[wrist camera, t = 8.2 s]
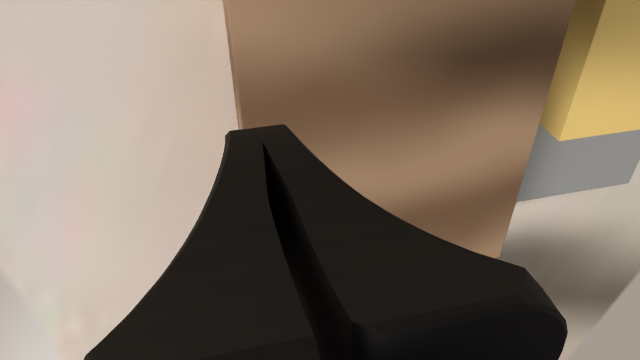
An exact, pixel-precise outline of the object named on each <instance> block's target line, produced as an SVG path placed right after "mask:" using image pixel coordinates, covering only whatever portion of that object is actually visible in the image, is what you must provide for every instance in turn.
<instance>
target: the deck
mask: <svg viewBox="0 0 640 360" xmlns="http://www.w3.org/2000/svg"><path fill="white" fill-rule="evenodd" d="M575 2H576V0H223V5H224V13H225V21H226V29H227V37H228V45H229V53H230V62H231V70H232V78H233V86H234V94H235V102H236V110H237V118H238V126H239V130H241V129H249V128H257V127H265V126H272V125H280V124H285V125H286V126H287V127H288V128H289V129H290V130H291V131H292V132H293V133H294V134H295V135H296V136H297V138H298V139H299V140H300V141H301V142H302V143H303V144H304V145H305V146H306V147H307V148H308V149H309V150H310V151H311V152H312V153H313V154H314V155H315V156H316V157H317V158H318V159H319V160H320V161H321V162H323V163H324V164H325V165H326V166H327V167H328V168H329V169H330V170H331V171H332V172H334V173H335V174H336V175H337V176H338V177H340V178H341V179H342V180H343V181H344V182H346V183H347V184H348V185H349V186H351V187H352V188H353V189H355V190H356V191H357V192H359V193H360V194H361V195H363V196H364V197H366V198H367V199H369V200H370V201H372V202H373V203H375V204H377V205H378V206H380V207H381V208H383V209H384V210H386V211H388V212H389V213H391V214H393V215H395V216H396V217H398V218H400V219H402V220H404V221H406V222H408V223H410V224H412V225H414V226H416V227H418V228H419V229H421V230H423V231H425V232H428V233H430V234H432V235H434V236H437V237H439V238H441V239H443V240H446V241H448V242H451V243H453V244H456V245H458V246H461V247H463V248H466V249H468V250H471V251H473V252H476V253H479V254H482V255H486V256H489V257H492V258H497V257H500V254H501V250H502V247H503V244H504V240H505V237H506V233H507V230H508V227H509V223H510V220H511V217H512V213H513V210H514V207H515V203H516V200H517V197H518V193H519V190H520V186H521V183H522V180H523V176H524V173H525V170H526V166H527V163H528V160H529V156H530V153H531V149H532V146H533V143H534V139H535V136H536V133H537V129H538V126H539V123H540V119H541V116H542V113H543V109H544V106H545V102H546V99H547V96H548V92H549V89H550V86H551V82H552V79H553V76H554V72H555V69H556V66H557V62H558V59H559V55H560V52H561V49H562V45H563V42H564V39H565V35H566V32H567V29H568V25H569V22H570V19H571V15H572V12H573V8H574V5H575Z"/></svg>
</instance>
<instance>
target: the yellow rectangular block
mask: <svg viewBox="0 0 640 360" xmlns="http://www.w3.org/2000/svg"><path fill="white" fill-rule="evenodd" d="M539 124H540V125H541V126H543V127H544V128H545V129H546V130H547V131H548V132H549V133H550V134H551V135H553V136H554V137H555V138H556V139H557V140H558V141H564V140H571V139H578V138H585V137H591V136H598V135H605V134H612V133H619V132H625V131H632V130H639V129H640V0H576V2H575V5H574V8H573V12H572V15H571V19H570V22H569V25H568V29H567V32H566V35H565V39H564V42H563V45H562V49H561V52H560V55H559V59H558V62H557V66H556V69H555V72H554V76H553V79H552V82H551V86H550V89H549V92H548V96H547V99H546V102H545V106H544V109H543V113H542V116H541V119H540V123H539Z"/></svg>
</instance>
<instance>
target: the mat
mask: <svg viewBox="0 0 640 360" xmlns="http://www.w3.org/2000/svg"><path fill="white" fill-rule="evenodd" d="M639 159H640V129H639V130H632V131H625V132H619V133H612V134H605V135H598V136H591V137H585V138H578V139H571V140H564V141H558V140H557V139H556V138H555V137H554V136H553V135H551V134H550V133H549V132H548V131H547V130H546V129H545V128H544V127H543V126H541V125H540V124H539V126H538V129H537V133H536V136H535V139H534V143H533V146H532V149H531V153H530V156H529V160H528V163H527V166H526V170H525V173H524V176H523V180H522V183H521V186H520V190H519V193H518V197H517V200H516V202H519V201H525V200H531V199H537V198H543V197H549V196H554V195H560V194H566V193H572V192H578V191H584V190H590V189H596V188H602V187H608V186H614V185H620V184H626V183H629V181H630V179H631V176H632V174H633V172H634V170H635V168H636V166H637V163H638V161H639Z"/></svg>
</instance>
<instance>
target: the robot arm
mask: <svg viewBox="0 0 640 360" xmlns="http://www.w3.org/2000/svg"><path fill="white" fill-rule="evenodd" d="M567 333H568V331H567V325H566V320H565V319H564V317H563V316H562V315H561V313H560V312H559V311H558V309H557V308H556V307H555V305H554V304H553V303H552V301H551V300H550V298H549V297H548V295H547V294H546V293H545V291H544V290H543V289H542V287H541V286H540V285H539V284H538V283H537V282H536V281H535V279H534V278H533V277H532V276H531V275H530V274H529V273H528V271H527V270H526V269H525V268H523V267H520V266H517V265H514V264H510V263H507V262H504V261H501V260H498V259H495V258H492V257H489V256H486V255H482V254H479V253H476V252H473V251H471V250H468V249H466V248H463V247H461V246H458V245H456V244H453V243H451V242H448V241H446V240H443V239H441V238H439V237H437V236H434V235H432V234H430V233H428V232H425V231H423V230H421V229H419V228H418V227H416V226H414V225H412V224H410V223H408V222H406V221H404V220H402V219H400V218H398V217H396V216H395V215H393V214H391V213H389V212H388V211H386V210H384V209H383V208H381V207H380V206H378V205H377V204H375V203H373V202H372V201H370V200H369V199H367V198H366V197H364V196H363V195H361V194H360V193H359V192H357V191H356V190H355V189H353V188H352V187H351V186H349V185H348V184H347V183H346V182H344V181H343V180H342V179H341V178H340V177H338V176H337V175H336V174H335V173H334V172H332V171H331V170H330V169H329V168H328V167H327V166H326V165H325V164H324V163H323V162H321V161H320V160H319V159H318V158H317V157H316V156H315V155H314V154H313V153H312V152H311V151H310V150H309V149H308V148H307V147H306V146H305V145H304V144H303V143H302V142H301V141H300V140H299V139H298V138H297V136H296V135H295V134H294V133H293V132H292V131H291V130H290V129H289V128H288V127H287V126H286V125H285V124H280V125H272V126H265V127H257V128H249V129H241V130H233V131H229V132H228V134H227V135H226V136H225V148H224V153H223V157H222V161H221V165H220V168H219V171H218V174H217V177H216V180H215V182H214V185H213V188H212V190H211V192H210V195H209V197H208V199H207V201H206V204H205V206H204V208H203V210H202V212H201V214H200V216H199V218H198V220H197V222H196V224H195V226H194V227H193V229H192V231H191V233H190V234H189V236H188V238H187V239H186V241H185V243H184V244H183V246H182V247H181V249H180V250H179V252H178V253H177V255H176V256H175V258H174V259H173V260H172V262H171V263H170V265H169V266H168V268H167V269H166V270H165V272H164V273H163V274H162V276H161V277H160V278H159V279H158V281H157V282H156V283H155V284H154V285H153V286H152V288H151V289H150V290H149V291H148V292H147V294H146V295H145V296H144V297H143V298H142V299H141V301H140V302H139V303H138V304H137V305H136V306H135V308H134V309H133V310H132V311H131V312H130V313H129V314H128V315H127V316H126V317H125V318H124V319H123V320H122V321H121V322H120V323H119V324H118V325H117V326H116V327H115V328H114V329H113V330H112V331H111V332H110V333H109V334H108V335H107V336H106V337H105V338H104V339H103V340H102V341H101V342H100V343H99V344H98V345H97V346H96V347H94V348H93V349H92V350H91V351H90V352H89V353H88V354H87V355H86V356H85V358H84V360H558V359H559V357H560V355H561V352H562V350H563V347H564V344H565V340H566V337H567Z"/></svg>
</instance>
